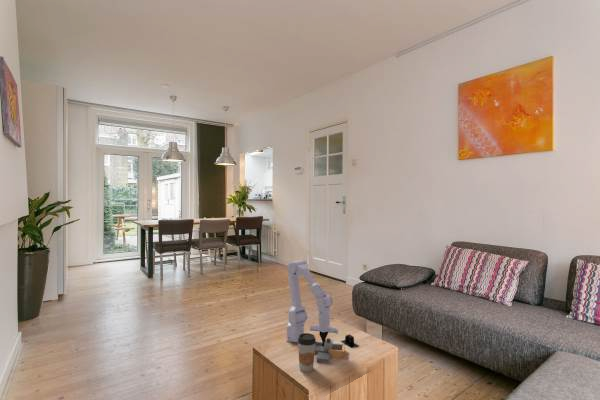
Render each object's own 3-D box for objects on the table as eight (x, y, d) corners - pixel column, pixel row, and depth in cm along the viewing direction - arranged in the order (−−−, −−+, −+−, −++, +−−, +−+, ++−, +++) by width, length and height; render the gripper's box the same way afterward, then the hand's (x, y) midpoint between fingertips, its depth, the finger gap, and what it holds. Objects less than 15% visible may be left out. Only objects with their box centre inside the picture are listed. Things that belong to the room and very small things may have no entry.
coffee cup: (299, 374, 142) (299, 341, 142) (295, 364, 150) (296, 333, 150) (317, 372, 143) (317, 339, 143) (312, 363, 152) (313, 332, 152)
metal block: (323, 349, 161) (324, 340, 161) (324, 346, 165) (325, 336, 165) (331, 351, 160) (332, 341, 160) (332, 347, 164) (333, 338, 164)
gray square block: (316, 362, 153) (316, 358, 153) (318, 356, 159) (318, 352, 159) (329, 363, 152) (329, 359, 152) (330, 357, 158) (330, 353, 158)
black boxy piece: (337, 341, 177) (337, 333, 177) (347, 338, 181) (347, 330, 181) (352, 350, 167) (352, 341, 167) (362, 347, 170) (362, 339, 170)
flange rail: (310, 354, 160) (311, 348, 160) (313, 347, 168) (313, 341, 168) (343, 358, 157) (343, 351, 157) (344, 350, 165) (344, 344, 165)
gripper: (309, 321, 161) (308, 347, 161) (337, 323, 158) (337, 350, 158) (311, 316, 168) (310, 341, 168) (338, 318, 165) (338, 344, 165)
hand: (323, 345), depth 163 cm, fingers closed, pressing on metal block
